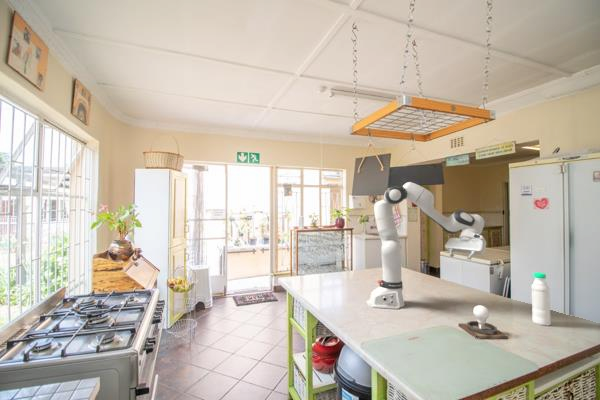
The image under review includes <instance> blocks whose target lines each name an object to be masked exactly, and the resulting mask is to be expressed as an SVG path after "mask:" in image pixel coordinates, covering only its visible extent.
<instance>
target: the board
mask: <svg viewBox="0 0 600 400" xmlns="http://www.w3.org/2000/svg"><path fill="white" fill-rule="evenodd" d="M471 326H472V327H474V328H477V329H479V328H478V327H479V325H471ZM458 327H459V328H461V329H462V330H463V331H465V332H466V333H468V335H470V336H471V335H472V336H471V337H473V336H474V337H475V338H474V337H473V338H474V339H476V338H480V339H479V340H508V339H509V336H508V335H507V334H505V333H504V332H502V331H501V330H499V329H497V334H495V335H484V334H479V333H476V332H473V331H471V330H469V329H468V328H467V323H462V322H461V323H460V322H459V323H458ZM480 330H481V329H480ZM484 330H486V331H492V330H493V329H491V328H489V327H486V326H485V329H484Z"/></svg>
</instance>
